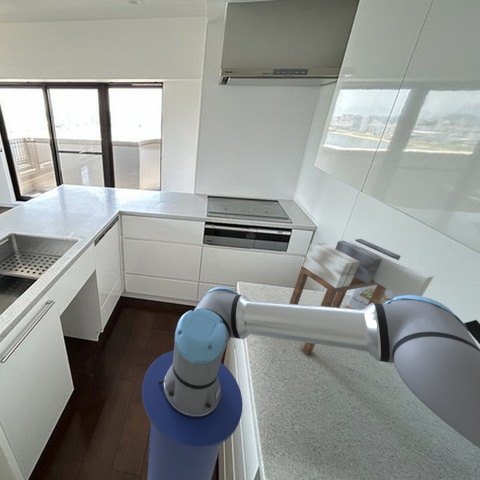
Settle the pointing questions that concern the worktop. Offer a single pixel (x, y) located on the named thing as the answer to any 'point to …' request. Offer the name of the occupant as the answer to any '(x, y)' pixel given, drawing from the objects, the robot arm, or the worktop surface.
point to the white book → (397, 274)
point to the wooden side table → (340, 272)
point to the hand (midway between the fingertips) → (451, 326)
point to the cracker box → (367, 297)
